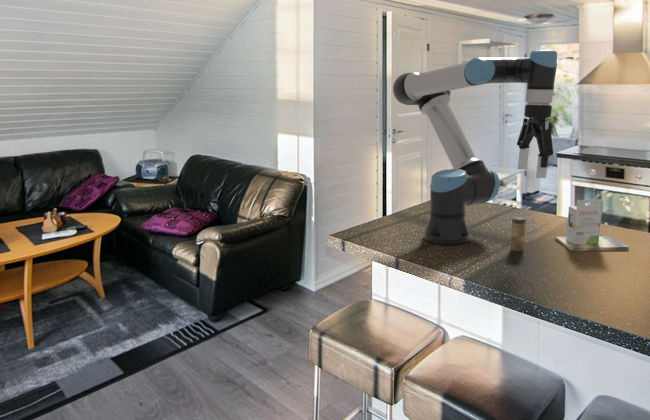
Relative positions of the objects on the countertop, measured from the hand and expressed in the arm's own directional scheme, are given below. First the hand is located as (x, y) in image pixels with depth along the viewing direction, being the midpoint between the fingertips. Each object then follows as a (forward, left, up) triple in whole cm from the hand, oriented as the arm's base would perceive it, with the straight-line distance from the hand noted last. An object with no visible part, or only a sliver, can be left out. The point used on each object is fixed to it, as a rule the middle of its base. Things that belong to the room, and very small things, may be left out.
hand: (531, 173), depth 161 cm
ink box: (+19, +2, -24) cm, 30 cm away
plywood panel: (+22, +2, -24) cm, 33 cm away
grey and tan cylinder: (-3, -1, -24) cm, 25 cm away
